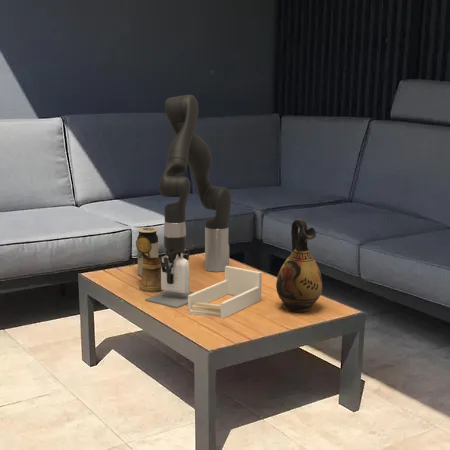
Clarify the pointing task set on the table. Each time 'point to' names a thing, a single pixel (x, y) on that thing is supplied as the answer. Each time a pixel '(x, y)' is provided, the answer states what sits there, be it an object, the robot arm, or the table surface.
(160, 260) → the robot arm
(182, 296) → the mat
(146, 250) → the wooden mug
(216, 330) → the table surface
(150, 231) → the travel mug
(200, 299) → the rack
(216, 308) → the offcut stack
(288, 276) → the ceramic jug
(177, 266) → the photo printer
